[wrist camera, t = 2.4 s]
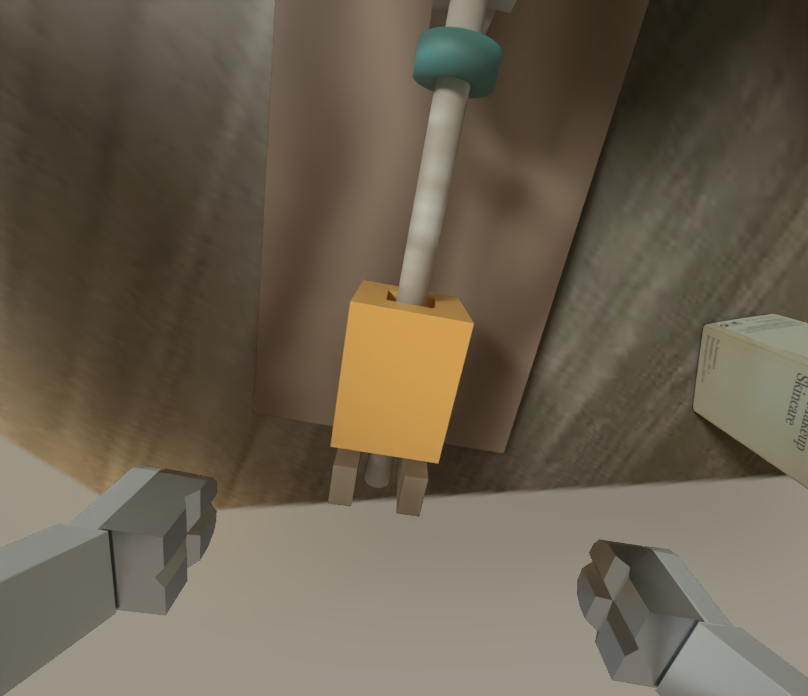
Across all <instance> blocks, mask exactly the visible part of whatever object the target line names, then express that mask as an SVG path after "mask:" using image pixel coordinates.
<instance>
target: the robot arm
mask: <svg viewBox="0 0 808 696" xmlns="http://www.w3.org/2000/svg"><path fill="white" fill-rule="evenodd" d="M216 494H217V481H216V480H215V479H214V478H213V477H207V476H202V475H197V474H191V473H186V472H180V471H175V470H170V469H161V468H156V467H151V466H145V465H138V466H135V467H133V468H131V469H130V470H129V471H128V472H127V473H125V474H124V475H123V476H122V477H121V478H120V479H119V480H118V481H116V482H115V483H114V484H113V485H112V486H111V487H110V488H109V489H107V490H106V491H105V492H104V493H103V494H102V495H101V496H100V497H98V498H97V499H96V500H95V501H94V502H93V503H92V504H91V505H89V506H88V507H87V508H86V509H85V510H84V511H83V512H82V513H80V514H79V515H78V516H77V517H76V518H75V519H74V520H73V521H71V522H70V523H69V524H68V525H65V524H57V525H54V526H52V527H49V528H47V529H45V530H42V531H40V532H37V533H35V534H32V535H30V536H28V537H25V538H23V539H20V540H18V541H15V542H13V543H11V544H8V545H6V546H3V547H1V548H0V696H3V695H4V694H6V693H7V692H8V691H10V690H11V689H13V688H14V687H15V686H17V685H18V684H19V683H21V682H22V681H23V680H25V679H26V678H28V677H29V676H30V675H32V674H33V673H34V672H36V671H37V670H39V669H40V668H41V667H43V666H44V665H46V664H47V663H48V662H50V661H51V660H52V659H54V658H55V657H56V656H58V655H59V654H61V653H62V652H63V651H65V650H66V649H67V648H69V647H70V646H72V645H73V644H74V643H76V642H77V641H78V640H80V639H81V638H83V637H84V636H85V635H87V634H88V633H89V632H91V631H92V630H93V629H95V628H96V627H98V626H99V625H100V624H102V623H103V622H104V621H106V620H107V619H109V618H110V617H111V616H112V615H114V614H115V613H116V610H123V611H132V612H141V613H150V614H158V615H166V614H167V613H168V611H169V609H170V608H171V606H172V604H173V603H174V601H175V600H176V598H177V596H178V595H179V593H180V592H181V590H182V588H183V587H184V585H185V584H186V582H187V568H188V567H190V566H192V565H193V564H195V563H196V562H198V561H200V559H201V558H202V556H203V554H204V553H205V551H206V549H207V547H208V545H209V543H210V540H211V538H212V535H213V532H214V528H215V523H216V510H215V508H214V507H213V506H212V504H211V501H212V500H213V498H214V497H215V495H216ZM589 553H590V556H591V559H592V561H593V562H591V563H590V564H588V565H587V566H585V567H584V568H582V570H581V573H580V575H579V578H578V582H577V588H578V589H577V595H578V600H579V604H580V607H581V610H582V612H583V614H584V617H585V619H586V620H587V621H588V622H589V623H590V624H591V625H592V626H593V627H594V628H595V629H596V630H597V636H596V640H595V642H596V645H597V647H598V649H599V652H600V654H601V656H602V659H603V661H604V663H605V665H606V667H607V670H608V672H609V674H610V676H611V679H612V680H615V681H620V682H626V683H632V684H637V685H643V686H648V687H654V688H657V689H656V692H657V693H658V694H659V695H660V696H808V677H806V676H805V675H804V674H802V673H801V672H800V671H798V670H797V669H796V668H794V667H793V666H792V665H790V664H789V663H788V662H786V661H785V660H784V659H782V658H781V657H780V656H778V655H777V654H776V653H774V652H773V651H771V650H770V649H769V648H767V647H766V646H765V645H763V644H762V643H761V642H760V641H758V640H757V639H755V638H754V637H753V636H751V635H750V634H749V633H747V632H746V631H745V630H743V629H742V628H737V627H734V626H733V625H732V624H731V623H730V621H729V620H728V619H727V618H726V616H725V615H724V614H723V613H722V611H721V610H720V609H719V608H718V606H717V605H716V604H715V602H714V601H713V600H712V599H711V598H710V596H709V595H708V594H707V592H706V591H705V590H704V589H703V587H702V586H701V585H700V584H699V582H698V581H697V580H696V579H695V577H694V576H693V575H692V573H691V572H690V571H689V570H688V568H687V567H686V566H685V565H684V563H683V562H682V561H681V560H680V558H679V557H678V556H677V555H676V554H674V553H673V552H672V551H670V550H668V549H661V548H654V547H647V546H645V547H643V546H638V545H632V544H625V543H619V542H611V541H605V540H598V541H597V542H595V543H594V544H593V546H592V548H591V550H590V552H589Z"/></svg>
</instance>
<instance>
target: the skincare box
mask: <svg viewBox="0 0 808 696" xmlns="http://www.w3.org/2000/svg"><path fill="white" fill-rule="evenodd" d="M693 410H694V411H695V412H696V413H698V414H699V415H701V416H702V417H704V418H705V419H707V420H708V421H710V422H711V423H713V424H714V425H715V426H717V427H718V428H720V429H721V430H723V431H724V432H726V433H727V434H729V435H730V436H731V437H733V438H734V439H736V440H737V441H739V442H740V443H742V444H743V445H745V446H746V447H748V448H749V449H750V450H752V451H753V452H755V453H756V454H758V455H759V456H761V457H762V458H764V459H765V460H766V461H768V462H769V463H771V464H772V465H774V466H775V467H777V468H778V469H780V470H781V471H782V472H784V473H785V474H787V475H788V476H790V477H791V478H793V479H794V480H796V481H797V482H799V483H800V484H801V485H803V486H805V487H806V488H808V323H805V322H801V321H798V320H794V319H791V318H787V317H784V316H780V315H776V314H769V315H761V316H754V317H747V318H741V319H734V320H728V321H723V322H717V323H712V324H707V325H705V326H704V327H703V333H702V341H701V347H700V354H699V362H698V370H697V377H696V386H695V394H694V403H693Z"/></svg>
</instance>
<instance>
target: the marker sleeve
mask: <svg viewBox="0 0 808 696" xmlns="http://www.w3.org/2000/svg"><path fill="white" fill-rule="evenodd" d="M398 289H399V286H394V285H388V284H383V283H377V282H372V281H366V280H363V282H362V283H361V285H360V287H359V288H358V290H357V291H356V293H355V295H354V296H353V298H352V299H351V301H350V307H349V314H348V322H347V329H346V336H345V344H344V351H343V358H342V365H341V373H340V380H339V387H338V395H337V402H336V409H335V417H334V424H333V431H332V439H331V446H330V447H336V448H342V449H349V450H355V451H361V452H368V453H374V454H381V455H387V456H393V457H400V458H406V459H412V460H419V461H425V462H432V463H439V459H440V455H441V451H442V447H443V443H444V439H445V435H446V431H447V428H448V424H449V420H450V416H451V412H452V408H453V404H454V400H455V396H456V392H457V388H458V384H459V381H460V377H461V373H462V369H463V365H464V361H465V357H466V353H467V349H468V345H469V341H470V337H471V333H472V330H473V326H474V322H473V321H472V319H471V318H470V316H469V314H468V313H467V311H466V310H465V308H464V306H463V305H462V303H461V302H460V300H459V298H458V297H454V296H449V295H443V294H438V293H432V292H428V296H427V301H426V306H425V307H423V306H417V305H412V304H406V303H401V302H396V300H397V294H398Z"/></svg>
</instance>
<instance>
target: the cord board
mask: <svg viewBox="0 0 808 696" xmlns="http://www.w3.org/2000/svg"><path fill="white" fill-rule="evenodd" d="M649 1H650V0H275V13H274V32H273V50H272V69H271V88H270V107H269V126H268V144H267V163H266V182H265V201H264V220H263V238H262V257H261V276H260V295H259V314H258V332H257V351H256V370H255V389H254V408H253V414H259V415H266V416H272V417H278V418H284V419H291V420H297V421H303V422H309V423H316V424H322V425H328V426H333V424H334V417H335V409H336V402H337V395H338V387H339V380H340V373H341V365H342V358H343V351H344V344H345V336H346V329H347V322H348V314H349V307H350V301H351V299H352V298H353V296H354V295H355V293H356V291H357V290H358V288H359V287H360V285H361V283H362V282H363V280H366V281H372V282H377V283H383V284H388V285H394V286H399V289H398V294H397V300H396V302H401V303H406V304H412V305H417V306H423V307H425V306H426V301H427V296H428V292H432V293H438V294H443V295H449V296H454V297H458V298H459V300H460V302H461V303H462V305H463V306H464V308H465V310H466V311H467V313H468V314H469V316H470V318H471V319H472V321H473V322H474V326H473V330H472V333H471V337H470V341H469V345H468V349H467V353H466V357H465V361H464V365H463V369H462V373H461V377H460V381H459V384H458V388H457V392H456V396H455V400H454V404H453V408H452V412H451V416H450V420H449V424H448V428H447V431H446V435H445V439H444V443H443V444H447V445H454V446H460V447H466V448H473V449H479V450H485V451H491V452H498V453H504V451H505V448H506V445H507V442H508V439H509V435H510V432H511V429H512V426H513V423H514V420H515V417H516V414H517V411H518V407H519V404H520V401H521V398H522V395H523V392H524V389H525V386H526V383H527V380H528V376H529V373H530V370H531V367H532V364H533V361H534V358H535V355H536V352H537V348H538V345H539V342H540V339H541V336H542V333H543V330H544V327H545V324H546V321H547V317H548V314H549V311H550V308H551V305H552V302H553V299H554V296H555V293H556V289H557V286H558V283H559V280H560V277H561V274H562V271H563V268H564V265H565V261H566V258H567V255H568V252H569V249H570V246H571V243H572V240H573V237H574V234H575V230H576V227H577V224H578V221H579V218H580V215H581V212H582V209H583V206H584V202H585V199H586V196H587V193H588V190H589V187H590V184H591V181H592V178H593V175H594V171H595V168H596V165H597V162H598V159H599V156H600V153H601V150H602V147H603V143H604V140H605V137H606V134H607V131H608V128H609V125H610V122H611V119H612V116H613V112H614V109H615V106H616V103H617V100H618V97H619V94H620V91H621V88H622V84H623V81H624V78H625V75H626V72H627V69H628V66H629V63H630V60H631V57H632V53H633V50H634V47H635V44H636V41H637V38H638V35H639V32H640V29H641V25H642V22H643V19H644V16H645V13H646V10H647V7H648V4H649ZM360 455H361V451H355V450H349V449H342V448H338V450H337V454H336V457H335V461H334V464H333V471H332V478H331V485H330V492H329V499H328V503H331V504H338V505H345V506H351V503H352V498H353V493H354V487H355V482H356V477H357V471H358V466H359V461H360ZM393 461H394V457H393V456H387V455H381V454H374V453H369V457H368V462H367V468H366V473H365V481H366V483H367V484H368V485H370V486H372V487H375V488H382V487H385V486H387V485H388V484H389V480H390V475H391V471H392V466H393ZM427 482H428V471H427V462H425V461H419V460H412V459H406V458H400V457H398V480H397V513H399V514H405V515H412V516H419V515H420V510H421V507H422V503H423V499H424V495H425V491H426V486H427Z"/></svg>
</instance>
